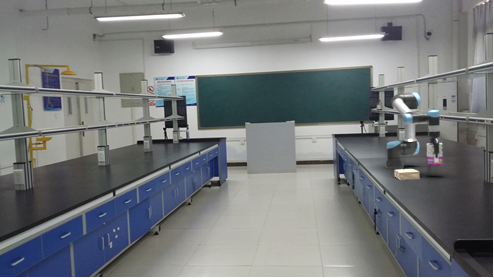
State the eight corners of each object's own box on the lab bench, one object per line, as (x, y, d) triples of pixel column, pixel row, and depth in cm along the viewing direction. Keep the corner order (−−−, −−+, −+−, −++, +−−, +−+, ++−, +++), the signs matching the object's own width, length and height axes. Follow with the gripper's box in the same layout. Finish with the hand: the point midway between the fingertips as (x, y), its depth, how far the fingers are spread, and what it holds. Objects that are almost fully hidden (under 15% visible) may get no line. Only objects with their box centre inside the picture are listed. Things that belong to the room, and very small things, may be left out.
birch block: (394, 177, 322) (394, 169, 322) (413, 176, 321) (412, 168, 321) (400, 180, 308) (400, 172, 308) (419, 179, 307) (419, 171, 307)
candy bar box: (443, 164, 312) (442, 142, 311) (443, 165, 308) (442, 143, 306) (427, 164, 318) (426, 142, 316) (426, 165, 313) (426, 143, 311)
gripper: (425, 130, 320) (425, 160, 322) (433, 132, 301) (433, 163, 303) (435, 129, 319) (436, 159, 321) (443, 131, 300) (444, 163, 303)
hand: (434, 161), depth 312 cm, fingers closed on candy bar box, 6 cm apart
